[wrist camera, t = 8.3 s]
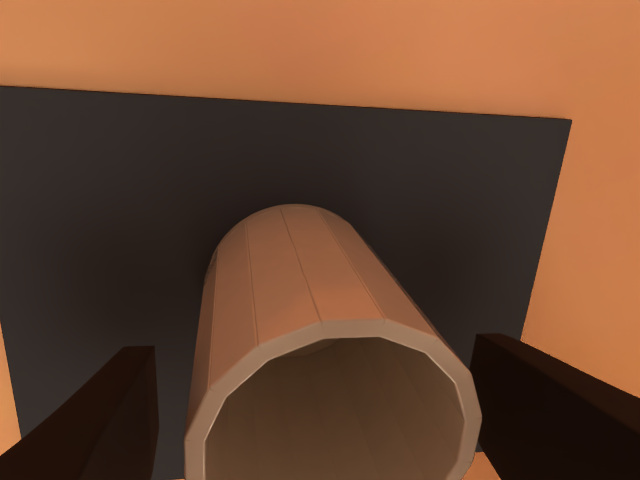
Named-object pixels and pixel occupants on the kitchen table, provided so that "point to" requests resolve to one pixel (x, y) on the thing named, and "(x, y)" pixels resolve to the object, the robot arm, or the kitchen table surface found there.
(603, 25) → the kitchen table surface
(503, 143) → the placemat
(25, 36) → the kitchen table surface
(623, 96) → the kitchen table surface
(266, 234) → the cream cup
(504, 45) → the kitchen table surface
